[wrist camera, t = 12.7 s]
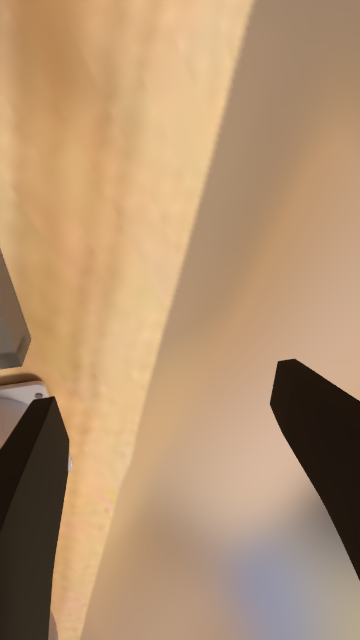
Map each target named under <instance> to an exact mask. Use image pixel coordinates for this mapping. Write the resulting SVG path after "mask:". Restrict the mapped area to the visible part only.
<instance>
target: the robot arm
mask: <svg viewBox="0 0 360 640" xmlns="http://www.w3.org/2000/svg"><path fill="white" fill-rule="evenodd" d="M36 393H41V394H36ZM270 406H271V408H272V411H273V413H274V415H275V418H276V420H277V422H278V425H279V427H280V429H281V431H282V433H283V435H284V437H285V438H286V440H287V442H288V444H289V445H290V447H291V449H292V450H293V452H294V454H295V456H296V457H297V459H298V461H299V462H300V464H301V466H302V467H303V469H304V471H305V472H306V474H307V476H308V477H309V479H310V481H311V483H312V484H313V486H314V488H315V489H316V491H317V493H318V494H319V496H320V498H321V500H322V502H323V503H324V505H325V507H326V509H327V511H328V513H329V515H330V517H331V519H332V521H333V523H334V525H335V528H336V530H337V532H338V534H339V536H340V538H341V540H342V542H343V544H344V547H345V549H346V551H347V553H348V555H349V558H350V560H351V562H352V564H353V567H354V569H355V571H356V573H357V575H358V578H359V580H360V401H359V400H357V399H356V398H354V397H352V396H351V395H349V394H348V393H346V392H345V391H343V390H342V389H340V388H338V387H337V386H336V385H334V384H332V383H331V382H330V381H328V380H326V379H325V378H323V377H322V376H321V375H319V374H317V373H316V372H315V371H313V370H312V369H310V368H308V367H307V366H305V365H304V364H302V363H301V362H299V361H297V360H296V359H290V360H284V361H278V364H277V369H276V374H275V380H274V384H273V390H272V395H271V400H270ZM72 468H73V463H72V460H71V457H70V454H69V438H68V435H67V432H66V429H65V426H64V423H63V420H62V417H61V414H60V411H59V408H58V405H57V402H56V399H55V396H53V397H50V396H49V394H48V391H47V388H46V385H45V384H44V383H43V382H41V381H30V382H24V383H17V384H10V385H3V386H0V640H58V633H57V626H56V622H55V619H54V616H53V614H52V612H51V610H50V606H51V592H52V578H53V569H54V561H55V553H56V547H57V541H58V535H59V528H60V522H61V516H62V509H63V503H64V496H65V490H66V483H67V477H68V472H69V471H71V470H72Z"/></svg>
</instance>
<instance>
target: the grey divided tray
mask: <svg viewBox="0 0 360 640" xmlns="http://www.w3.org/2000/svg"><path fill="white" fill-rule="evenodd" d="M30 342H31V337H30V334H29V331H28V328H27V325H26V322H25V319H24V316H23V313H22V311H21V308H20V305H19V302H18V299H17V296H16V293H15V290H14V287H13V284H12V281H11V279H10V276H9V273H8V270H7V267H6V264H5V261H4V258H3V255H2V252H1V249H0V369H6V368H14V367H21V366H22V365H23V362H24V359H25V356H26V353H27V350H28V348H29V345H30Z"/></svg>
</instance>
